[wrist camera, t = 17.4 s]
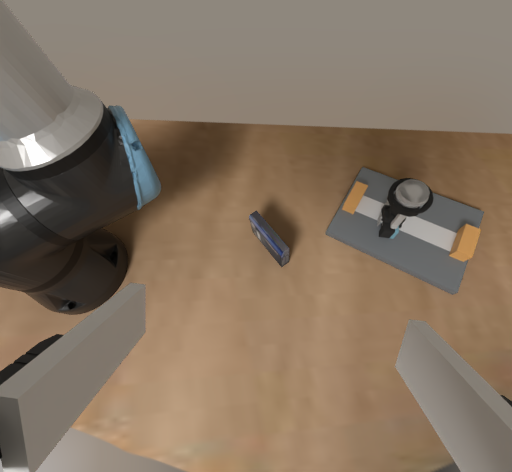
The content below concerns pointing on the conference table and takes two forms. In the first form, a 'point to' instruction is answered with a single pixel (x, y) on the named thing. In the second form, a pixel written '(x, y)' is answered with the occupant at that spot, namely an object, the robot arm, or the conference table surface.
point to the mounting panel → (409, 232)
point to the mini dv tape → (269, 239)
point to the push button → (403, 205)
